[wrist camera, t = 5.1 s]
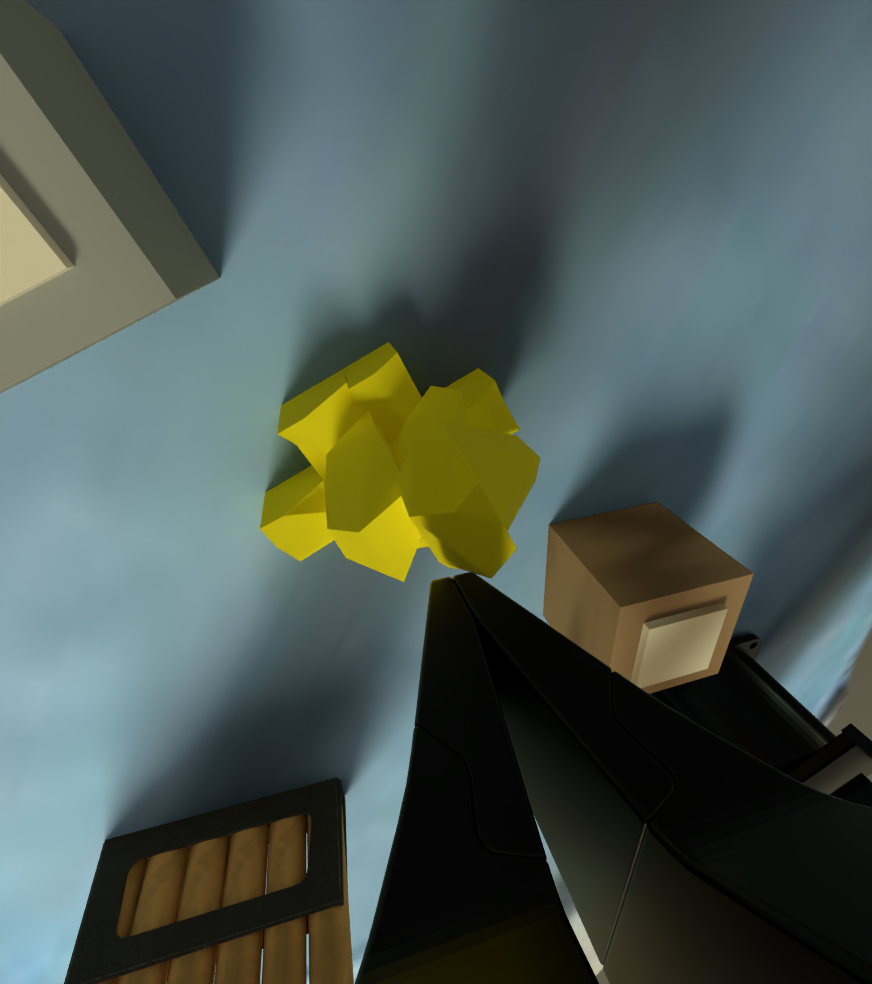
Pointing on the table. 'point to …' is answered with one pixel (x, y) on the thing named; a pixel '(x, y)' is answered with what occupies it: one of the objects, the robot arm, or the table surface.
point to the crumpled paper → (401, 470)
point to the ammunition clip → (224, 897)
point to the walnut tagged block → (643, 594)
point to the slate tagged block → (75, 209)
